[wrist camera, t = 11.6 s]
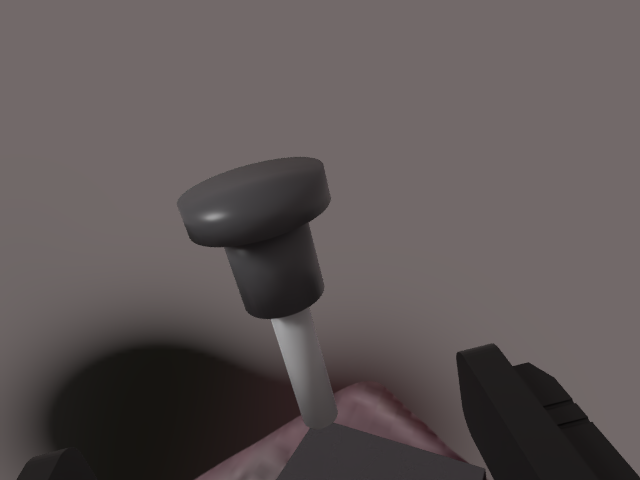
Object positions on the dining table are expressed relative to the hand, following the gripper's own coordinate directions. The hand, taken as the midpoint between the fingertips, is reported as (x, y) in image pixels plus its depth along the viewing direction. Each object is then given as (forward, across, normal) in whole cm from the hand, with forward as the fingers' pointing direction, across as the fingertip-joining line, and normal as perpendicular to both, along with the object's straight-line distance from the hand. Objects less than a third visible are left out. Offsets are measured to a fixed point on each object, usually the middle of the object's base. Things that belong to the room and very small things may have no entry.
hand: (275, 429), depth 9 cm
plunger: (+8, 0, +8) cm, 12 cm away
